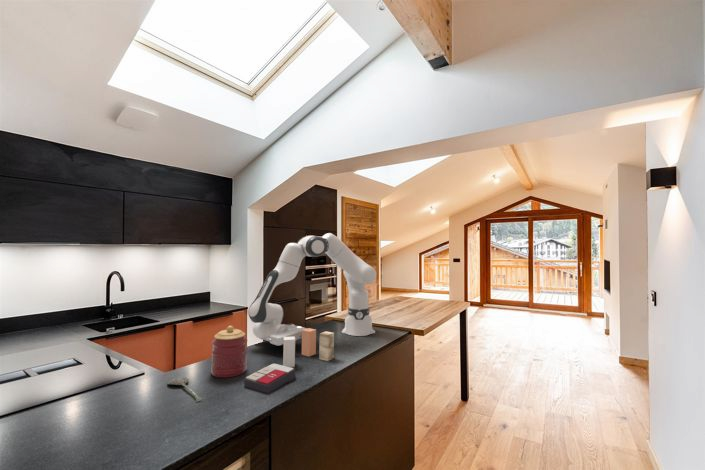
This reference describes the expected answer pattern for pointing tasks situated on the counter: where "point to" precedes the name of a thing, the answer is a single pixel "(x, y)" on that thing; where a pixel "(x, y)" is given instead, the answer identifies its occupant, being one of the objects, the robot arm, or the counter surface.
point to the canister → (229, 353)
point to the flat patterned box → (269, 378)
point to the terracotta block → (308, 342)
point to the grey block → (289, 352)
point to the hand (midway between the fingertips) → (302, 338)
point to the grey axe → (182, 382)
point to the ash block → (326, 346)
